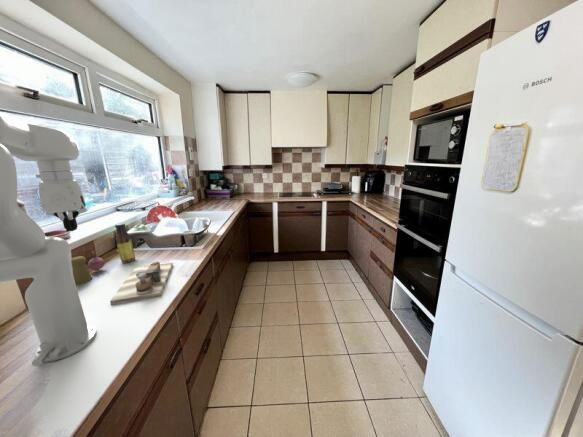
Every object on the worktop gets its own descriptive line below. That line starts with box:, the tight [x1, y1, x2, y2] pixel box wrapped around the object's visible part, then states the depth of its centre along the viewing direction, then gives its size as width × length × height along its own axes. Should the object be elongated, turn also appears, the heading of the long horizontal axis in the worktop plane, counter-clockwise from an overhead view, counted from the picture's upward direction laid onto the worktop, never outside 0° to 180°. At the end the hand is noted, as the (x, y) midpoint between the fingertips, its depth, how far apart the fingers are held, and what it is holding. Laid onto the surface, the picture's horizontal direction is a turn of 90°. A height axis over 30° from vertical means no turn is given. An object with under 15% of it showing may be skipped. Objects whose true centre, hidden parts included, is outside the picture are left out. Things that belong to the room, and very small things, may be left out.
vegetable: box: [87, 250, 105, 272], centre depth 109 cm, size 6×6×10 cm
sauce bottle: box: [114, 222, 136, 264], centre depth 118 cm, size 7×6×20 cm
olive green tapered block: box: [71, 255, 93, 285], centre depth 100 cm, size 6×6×11 cm
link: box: [136, 261, 161, 292], centre depth 97 cm, size 22×5×6 cm, turn 16°
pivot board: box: [109, 262, 174, 306], centre depth 99 cm, size 28×16×6 cm, turn 18°
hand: (72, 230), depth 81 cm, fingers closed
